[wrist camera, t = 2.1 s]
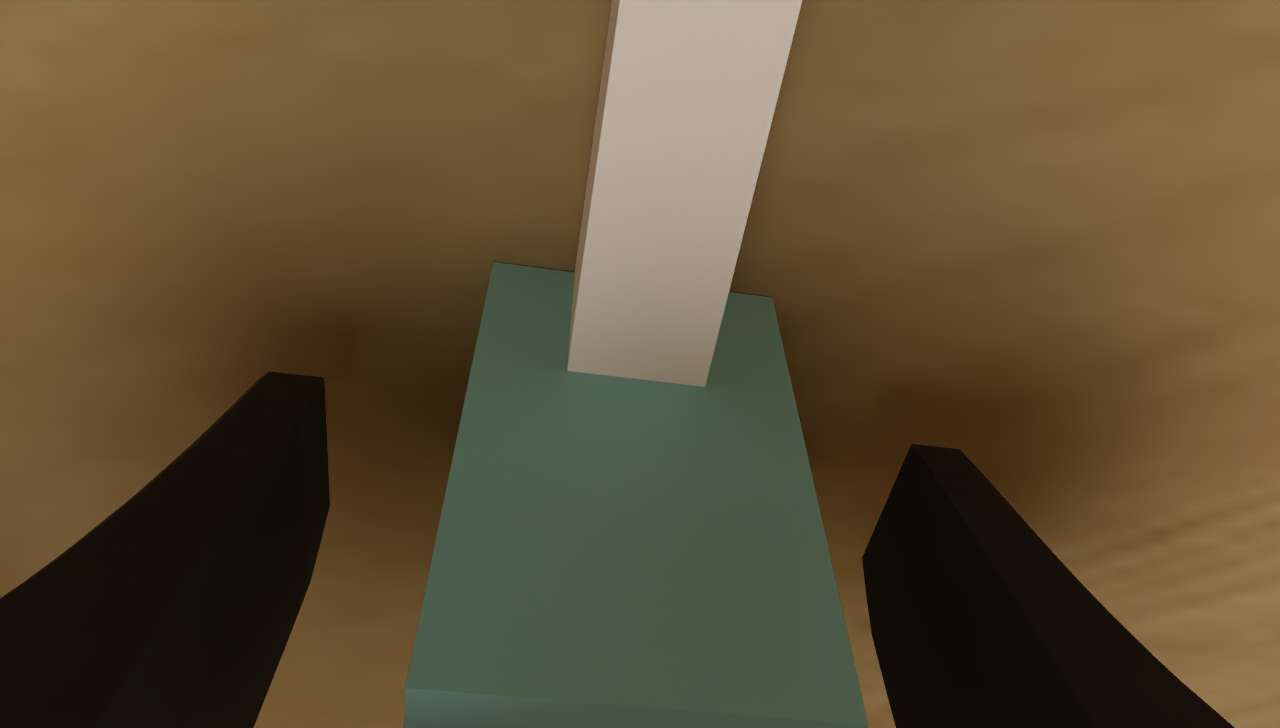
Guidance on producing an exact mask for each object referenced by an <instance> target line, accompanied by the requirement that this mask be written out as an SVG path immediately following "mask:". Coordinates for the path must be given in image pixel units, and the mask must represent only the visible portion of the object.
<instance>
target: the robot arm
mask: <svg viewBox="0 0 1280 728" xmlns="http://www.w3.org/2000/svg"><path fill="white" fill-rule="evenodd" d="M329 506H330V497H329V475H328V453H327V432H326V410H325V388H324V378H321V377H312V376H303V375H294V374H285V373H277V372H269V373H267V374H266V375H264V376H263V377H261V378H260V379H259V380H258V381H257V382H256V383H255V384H254V385H253V386H252V387H251V388H250V389H249V390H248V391H247V392H246V393H245V394H244V395H243V396H242V397H241V398H240V399H239V400H238V401H237V402H236V403H235V404H234V405H233V406H232V407H230V408H229V409H228V410H227V411H226V412H225V413H224V414H223V415H222V416H221V417H220V418H219V419H218V420H217V421H216V422H215V423H214V424H213V425H212V426H211V427H210V428H209V429H208V430H207V431H205V432H204V433H203V434H202V435H201V436H200V437H199V438H198V439H197V440H196V441H195V442H194V443H193V444H192V445H191V446H190V447H188V448H187V449H186V450H185V451H184V452H183V453H182V454H181V455H180V456H178V457H177V458H176V459H175V460H174V461H173V462H172V463H171V464H170V465H168V466H167V467H166V468H165V469H164V470H163V471H162V472H161V473H159V474H158V475H157V476H156V477H155V478H154V479H153V480H152V481H150V482H149V483H148V484H147V485H146V486H145V487H144V488H143V489H141V490H140V491H139V492H138V493H137V494H136V495H134V496H133V497H132V498H131V499H130V500H129V501H127V502H126V503H125V504H124V505H122V506H121V507H120V508H119V509H118V510H116V511H115V512H114V513H113V514H111V515H110V516H109V517H108V518H106V519H105V520H104V521H103V522H101V523H100V524H99V525H98V526H96V527H95V528H94V529H93V530H91V531H90V532H89V533H88V534H86V535H85V536H84V537H83V538H82V539H80V540H79V541H78V542H77V543H75V544H74V545H73V546H72V547H70V548H69V549H68V550H66V551H65V552H64V553H63V554H61V555H60V556H59V557H57V558H56V559H55V560H53V561H52V562H50V563H49V564H48V565H46V566H45V567H44V568H42V569H41V570H40V571H38V572H37V573H36V574H34V575H33V576H31V577H30V578H29V579H27V580H26V581H25V582H23V583H22V584H20V585H19V586H18V587H16V588H15V589H13V590H12V591H10V592H9V593H7V594H6V595H5V596H3V597H2V598H0V728H253V727H254V725H255V722H256V720H257V717H258V715H259V712H260V710H261V707H262V704H263V702H264V699H265V697H266V694H267V692H268V689H269V687H270V684H271V682H272V679H273V677H274V674H275V671H276V669H277V666H278V664H279V661H280V659H281V656H282V654H283V651H284V649H285V646H286V644H287V641H288V638H289V636H290V633H291V631H292V628H293V626H294V623H295V620H296V618H297V615H298V613H299V610H300V607H301V605H302V602H303V600H304V597H305V594H306V592H307V589H308V586H309V584H310V581H311V577H312V573H313V569H314V566H315V562H316V558H317V554H318V550H319V547H320V543H321V539H322V534H323V530H324V526H325V522H326V518H327V514H328V510H329ZM862 560H863V569H864V578H865V587H866V596H867V604H868V611H869V618H870V625H871V632H872V637H873V641H874V645H875V649H876V653H877V657H878V661H879V665H880V668H881V672H882V676H883V680H884V684H885V688H886V692H887V695H888V699H889V703H890V707H891V710H892V714H893V718H894V722H895V725H896V728H1234V727H1233V726H1232V725H1231V724H1230V723H1229V722H1227V721H1226V720H1225V719H1224V718H1223V717H1222V716H1220V715H1219V714H1218V713H1217V712H1216V711H1215V710H1214V709H1212V708H1211V707H1210V706H1209V705H1208V704H1207V703H1205V702H1204V701H1203V700H1202V699H1201V698H1200V697H1198V696H1197V695H1196V694H1195V693H1194V692H1193V691H1192V690H1190V689H1189V688H1188V687H1187V686H1186V685H1185V684H1183V683H1182V682H1181V681H1180V680H1179V679H1178V678H1177V677H1176V676H1175V675H1174V674H1173V673H1171V672H1170V671H1169V670H1168V669H1167V668H1166V667H1165V666H1164V665H1163V664H1162V663H1161V662H1159V661H1158V660H1157V659H1156V658H1155V657H1154V656H1153V655H1152V654H1151V653H1150V652H1149V651H1148V650H1147V649H1146V648H1145V647H1144V646H1143V645H1142V644H1141V643H1140V642H1139V641H1138V640H1137V639H1136V638H1135V637H1134V636H1133V635H1132V634H1131V633H1130V632H1129V631H1128V630H1127V629H1126V628H1125V627H1124V626H1123V625H1122V624H1121V623H1119V622H1118V621H1117V620H1116V619H1115V618H1114V617H1113V616H1112V615H1111V614H1110V613H1109V612H1108V611H1107V610H1106V608H1105V607H1104V606H1103V605H1102V604H1101V603H1100V602H1099V601H1098V600H1097V599H1096V598H1095V597H1094V596H1093V595H1092V594H1091V593H1090V592H1089V591H1088V590H1087V589H1086V588H1085V587H1084V586H1083V585H1082V584H1081V582H1080V581H1079V580H1078V579H1077V578H1076V577H1075V576H1074V575H1073V574H1072V573H1071V572H1070V571H1069V570H1068V569H1067V567H1066V566H1065V565H1064V564H1063V563H1062V562H1061V561H1060V560H1059V559H1058V558H1057V557H1056V556H1055V554H1054V553H1053V552H1052V551H1051V550H1050V549H1049V548H1048V547H1047V546H1046V544H1045V543H1044V542H1043V541H1042V540H1041V539H1040V538H1039V537H1038V536H1037V535H1036V533H1035V532H1034V531H1033V530H1032V529H1031V528H1030V527H1029V526H1028V524H1027V523H1026V522H1025V521H1024V520H1023V519H1022V518H1021V517H1020V515H1019V514H1018V513H1017V512H1016V511H1015V510H1014V509H1013V508H1012V506H1011V505H1010V504H1009V503H1008V502H1007V501H1006V500H1005V499H1004V497H1003V496H1002V495H1001V494H1000V493H999V492H998V491H997V490H996V488H995V487H994V486H993V485H992V484H991V483H990V482H989V481H988V479H987V478H986V477H985V476H984V475H983V474H982V473H981V472H980V471H979V470H978V468H977V467H976V466H975V465H974V464H973V463H972V462H971V461H970V460H969V459H968V458H967V457H966V456H965V455H964V454H963V453H962V452H961V451H960V450H959V449H950V448H942V447H933V446H924V445H915V444H911V446H910V449H909V451H908V453H907V456H906V458H905V460H904V463H903V465H902V467H901V470H900V472H899V474H898V476H897V479H896V481H895V483H894V486H893V488H892V490H891V493H890V495H889V497H888V500H887V502H886V504H885V507H884V509H883V511H882V513H881V516H880V518H879V520H878V523H877V525H876V527H875V530H874V532H873V534H872V537H871V539H870V541H869V543H868V546H867V548H866V550H865V553H864V555H863V557H862Z"/></svg>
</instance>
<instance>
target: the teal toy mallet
mask: <svg viewBox="0 0 1280 728" xmlns="http://www.w3.org/2000/svg"><path fill="white" fill-rule="evenodd" d="M801 4H802V0H612V4H611V11H610V19H609V26H608V33H607V40H606V48H605V55H604V62H603V70H602V77H601V84H600V91H599V99H598V106H597V113H596V120H595V128H594V135H593V142H592V149H591V157H590V164H589V171H588V179H587V186H586V193H585V200H584V208H583V215H582V222H581V229H580V237H579V244H578V251H577V258H576V266H575V272H568V271H560V270H553V269H545V268H537V267H529V266H521V265H513V264H505V263H498V262H493V265H492V270H491V274H490V279H489V284H488V289H487V294H486V299H485V304H484V308H483V313H482V318H481V323H480V328H479V333H478V337H477V342H476V347H475V352H474V357H473V362H472V367H471V371H470V376H469V381H468V386H467V391H466V396H465V400H464V405H463V410H462V415H461V420H460V425H459V430H458V434H457V439H456V444H455V449H454V454H453V459H452V463H451V468H450V473H449V478H448V483H447V488H446V492H445V497H444V502H443V507H442V512H441V517H440V522H439V526H438V531H437V536H436V541H435V546H434V551H433V555H432V560H431V565H430V570H429V575H428V580H427V585H426V589H425V594H424V599H423V604H422V609H421V614H420V618H419V623H418V628H417V633H416V638H415V643H414V648H413V652H412V657H411V662H410V667H409V672H408V677H407V681H406V686H405V716H404V728H867V727H868V722H867V717H866V713H865V708H864V704H863V700H862V695H861V691H860V686H859V682H858V677H857V673H856V668H855V664H854V659H853V655H852V651H851V646H850V642H849V637H848V633H847V628H846V624H845V619H844V615H843V610H842V606H841V602H840V597H839V593H838V588H837V584H836V579H835V575H834V570H833V566H832V561H831V557H830V553H829V548H828V544H827V539H826V535H825V530H824V526H823V521H822V517H821V512H820V508H819V504H818V499H817V495H816V490H815V486H814V481H813V477H812V472H811V468H810V463H809V459H808V455H807V450H806V446H805V441H804V437H803V432H802V428H801V423H800V419H799V414H798V410H797V406H796V401H795V397H794V392H793V388H792V383H791V379H790V374H789V370H788V365H787V361H786V357H785V352H784V348H783V343H782V339H781V334H780V330H779V325H778V321H777V316H776V312H775V308H774V303H773V299H772V297H765V296H757V295H749V294H741V293H733V292H729V290H730V286H731V282H732V278H733V274H734V270H735V266H736V262H737V258H738V254H739V250H740V246H741V242H742V238H743V234H744V230H745V226H746V222H747V218H748V214H749V210H750V206H751V202H752V198H753V194H754V190H755V186H756V182H757V178H758V175H759V171H760V167H761V163H762V159H763V155H764V151H765V147H766V143H767V139H768V135H769V131H770V127H771V123H772V119H773V115H774V111H775V107H776V103H777V99H778V95H779V91H780V87H781V83H782V79H783V75H784V71H785V67H786V63H787V59H788V55H789V51H790V48H791V44H792V40H793V36H794V32H795V28H796V24H797V20H798V16H799V12H800V8H801Z"/></svg>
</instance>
